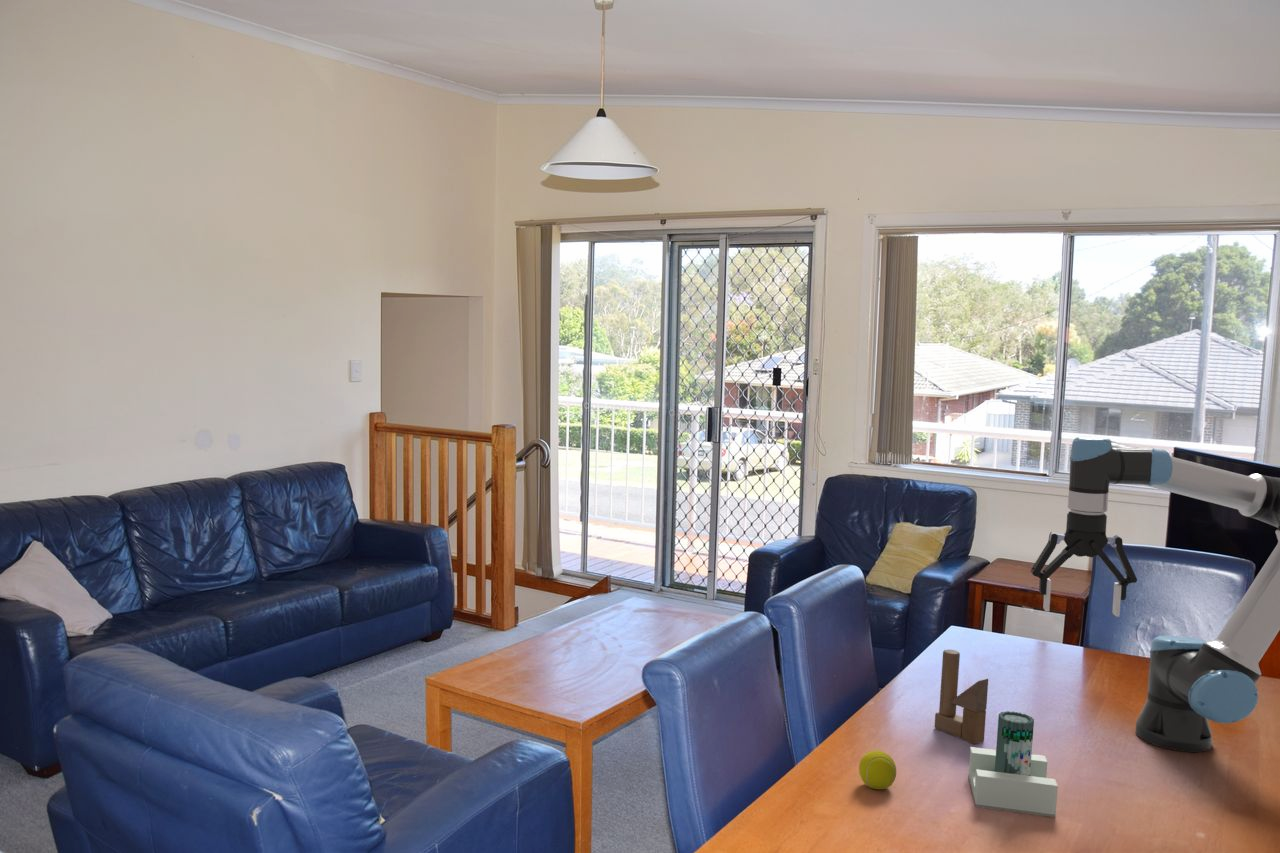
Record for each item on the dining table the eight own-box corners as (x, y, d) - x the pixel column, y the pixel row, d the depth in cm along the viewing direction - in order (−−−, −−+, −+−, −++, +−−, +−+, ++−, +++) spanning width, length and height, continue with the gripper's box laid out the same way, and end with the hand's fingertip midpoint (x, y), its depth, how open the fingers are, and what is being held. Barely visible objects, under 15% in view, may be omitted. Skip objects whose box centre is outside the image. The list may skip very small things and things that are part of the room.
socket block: (1042, 785, 199) (1044, 755, 198) (1055, 817, 185) (1057, 785, 185) (968, 775, 202) (970, 746, 201) (975, 806, 188) (977, 775, 188)
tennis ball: (855, 778, 199) (857, 744, 198) (890, 780, 198) (893, 746, 198) (861, 794, 192) (863, 758, 191) (898, 796, 191) (901, 760, 191)
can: (1010, 802, 189) (1015, 725, 188) (987, 788, 195) (992, 713, 194) (1034, 797, 192) (1040, 721, 190) (1011, 784, 197) (1016, 710, 196)
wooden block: (974, 745, 218) (979, 664, 216) (933, 728, 226) (938, 650, 225) (984, 741, 220) (990, 661, 218) (944, 725, 229) (949, 647, 227)
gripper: (1147, 512, 210) (1140, 612, 211) (1020, 505, 215) (1014, 603, 216) (1157, 518, 202) (1150, 621, 204) (1026, 511, 207) (1020, 612, 209)
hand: (1080, 612), depth 210 cm, fingers open, 13 cm apart
